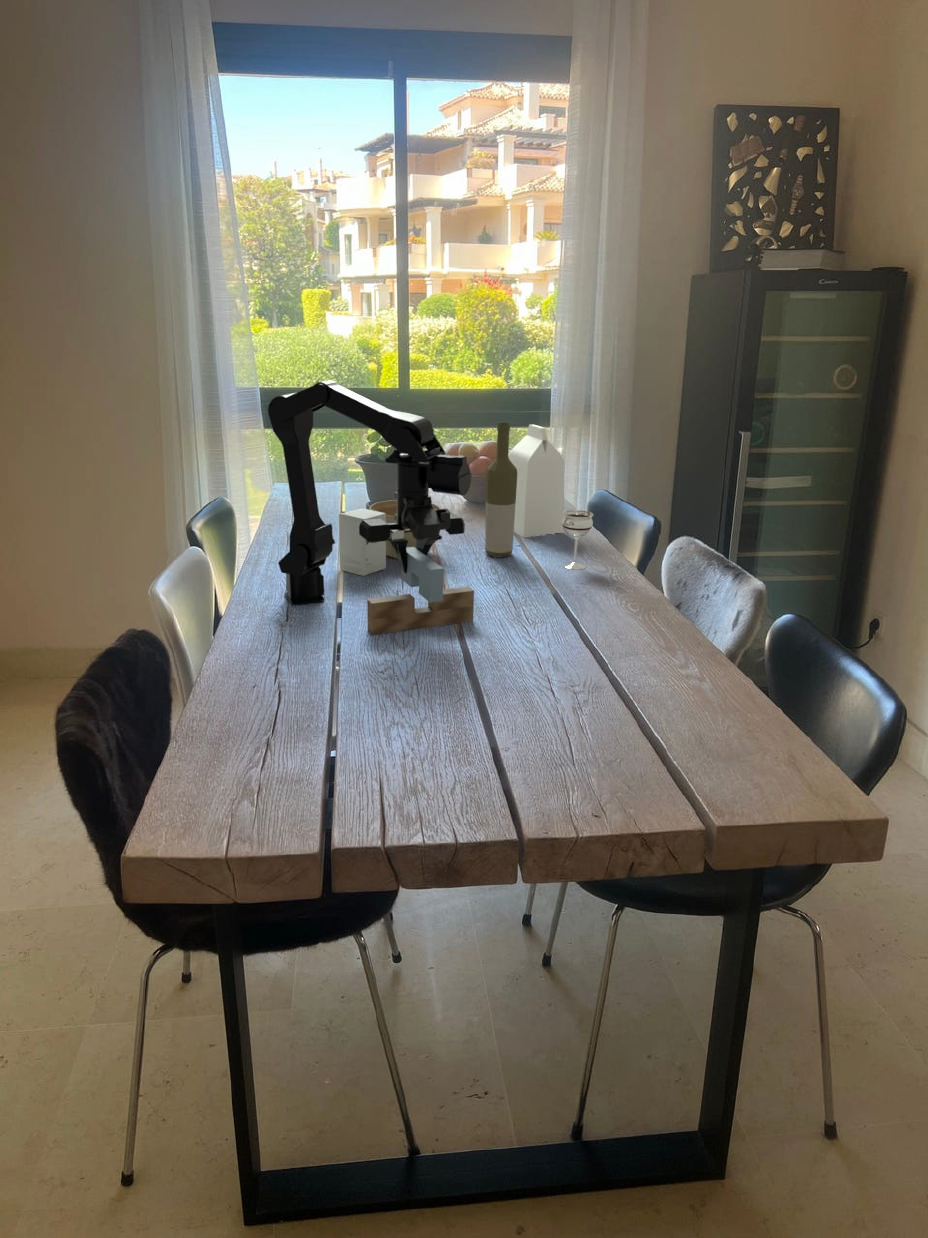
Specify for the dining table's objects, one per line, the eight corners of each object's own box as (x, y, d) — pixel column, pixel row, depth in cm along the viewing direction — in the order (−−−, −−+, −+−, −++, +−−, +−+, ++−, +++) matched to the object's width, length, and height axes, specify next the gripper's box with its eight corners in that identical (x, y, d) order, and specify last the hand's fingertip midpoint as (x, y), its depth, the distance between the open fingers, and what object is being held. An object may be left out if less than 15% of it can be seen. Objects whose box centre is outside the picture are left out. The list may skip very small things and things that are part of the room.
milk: (501, 525, 243) (505, 423, 234) (540, 521, 247) (545, 421, 238) (523, 537, 233) (528, 431, 223) (563, 533, 237) (570, 429, 228)
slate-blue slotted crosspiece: (401, 578, 177) (401, 548, 175) (413, 577, 178) (413, 546, 176) (429, 602, 165) (430, 569, 163) (442, 600, 166) (443, 568, 164)
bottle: (514, 559, 215) (520, 426, 204) (483, 558, 215) (487, 425, 204) (513, 550, 222) (519, 421, 211) (483, 549, 222) (487, 420, 211)
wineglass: (589, 562, 214) (593, 510, 210) (590, 571, 208) (594, 518, 204) (559, 560, 215) (562, 509, 210) (559, 569, 208) (562, 516, 204)
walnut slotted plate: (372, 635, 169) (371, 603, 167) (367, 630, 171) (367, 599, 169) (473, 620, 177) (474, 590, 175) (467, 616, 179) (468, 586, 177)
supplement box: (363, 577, 200) (363, 519, 196) (338, 570, 205) (337, 513, 200) (387, 569, 206) (386, 512, 201) (362, 562, 210) (361, 506, 206)
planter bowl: (431, 566, 208) (432, 518, 204) (361, 560, 211) (360, 513, 207) (447, 546, 223) (448, 501, 219) (381, 541, 226) (381, 497, 222)
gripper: (378, 503, 159) (379, 590, 164) (478, 495, 166) (476, 579, 172) (357, 488, 168) (358, 572, 174) (453, 481, 176) (451, 562, 181)
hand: (412, 571), depth 175 cm, fingers closed on slate-blue slotted crosspiece, 2 cm apart
